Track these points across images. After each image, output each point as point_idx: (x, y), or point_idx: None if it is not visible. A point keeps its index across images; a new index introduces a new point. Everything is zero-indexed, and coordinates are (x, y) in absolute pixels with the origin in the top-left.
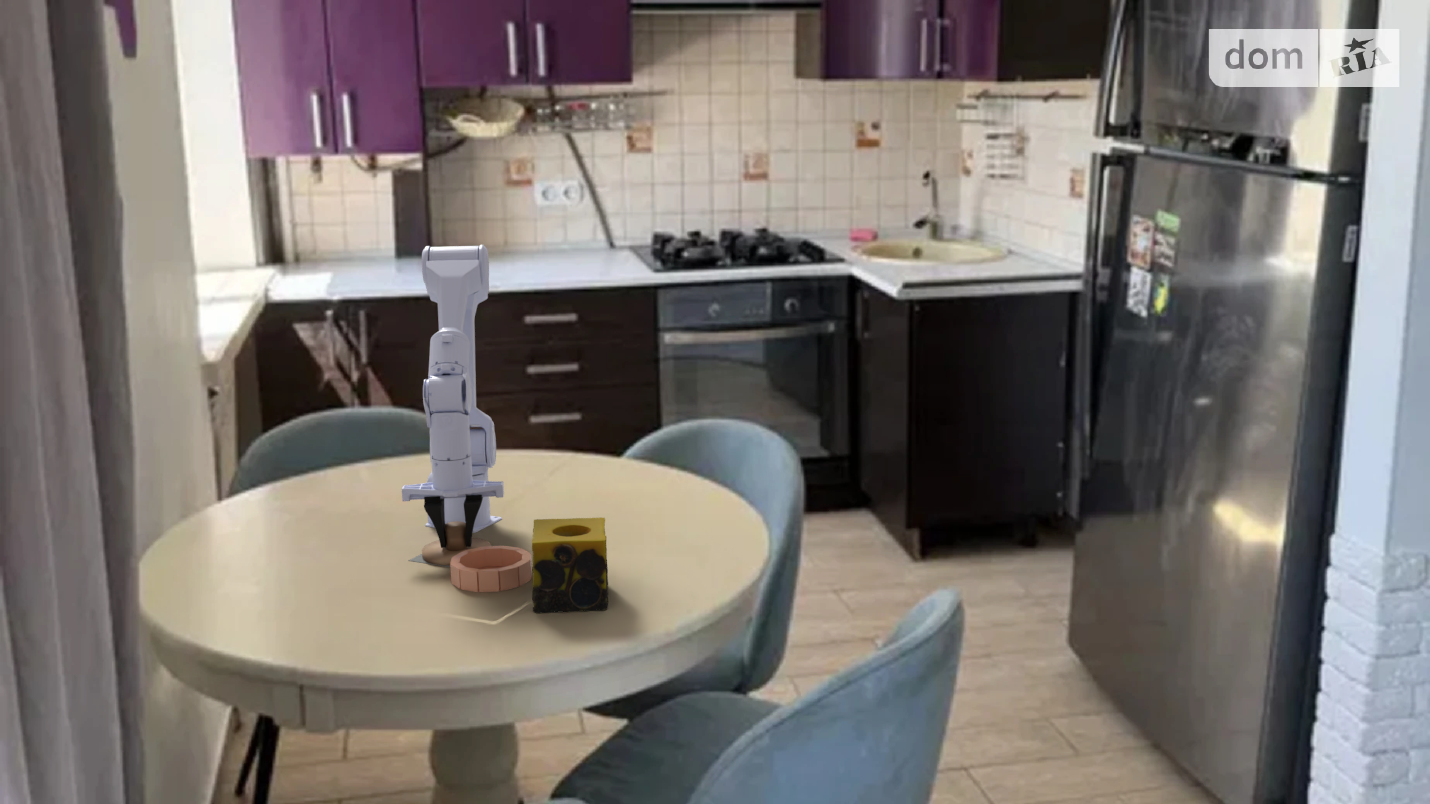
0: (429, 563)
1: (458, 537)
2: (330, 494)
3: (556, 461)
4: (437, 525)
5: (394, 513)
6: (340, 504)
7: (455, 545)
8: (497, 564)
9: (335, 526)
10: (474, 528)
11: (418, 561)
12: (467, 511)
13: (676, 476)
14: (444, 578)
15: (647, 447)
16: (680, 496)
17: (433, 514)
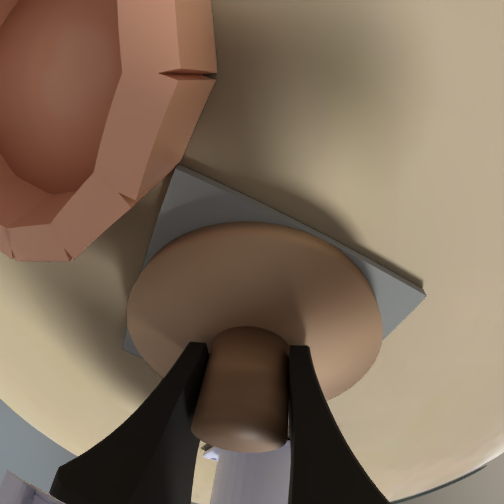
0: (354, 256)
1: (223, 374)
2: (434, 476)
3: (203, 501)
4: (321, 432)
5: (384, 468)
6: (436, 468)
7: (243, 344)
8: (59, 194)
9: (473, 432)
10: None
11: (395, 283)
12: (121, 478)
13: (76, 454)
14: (264, 82)
15: None
16: (38, 422)
17: (343, 492)
